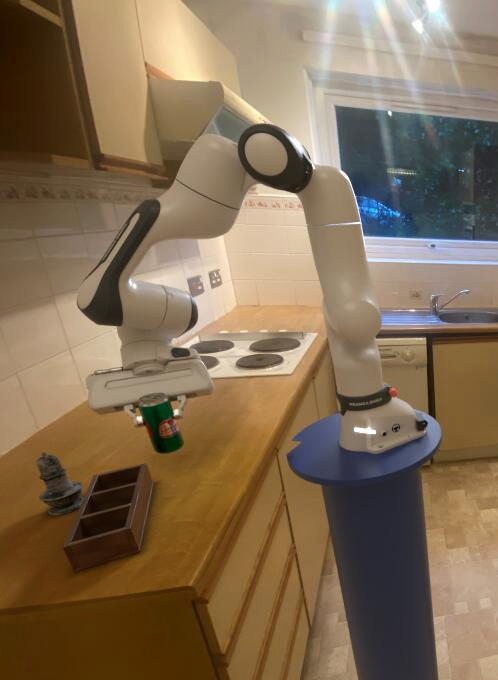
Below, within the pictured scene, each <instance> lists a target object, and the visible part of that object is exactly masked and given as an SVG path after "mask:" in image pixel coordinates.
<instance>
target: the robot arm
mask: <svg viewBox="0 0 498 680" xmlns="http://www.w3.org/2000/svg"><path fill="white" fill-rule="evenodd" d="M257 185H263V186H265V187H268V188H271V189H274V190H278V191H284V192H287V193H290V194H294V195H295V196H296V197H297V198H298V199H299V201H300V203H301V207H302V209H303V213H304V214H303V215H304V218H305V224H306V228H307V233H308V239H309V243H310V248H311V253H312V257H313V262H314V267H315V269H316V273H317V276H318V280H319V284H320V285H319V286H320V289H321V292H322V296H323V298H322V301H321V310H322V316H323V321H324V326H325V327H324V328H325V332H326V335H327V341H328V346H329V351H330V354H331V355H330V356H331V359H332V366H333V371H334V378H335V385H336V390H335V401H336V407H337V411H338V413H340V435H339V440H338V443H339V445H340V446H341V447H342V448H344V449H346V450H350V451H358V452H368V453H372V454H379V453H381V452H384V451H387V450H389V449H392V448H394V447H397V446H399V445H402V444H404V443H407V442H409V441H412V440H414V439H417V438H420V437H422V436H424V435H426V434H427V425H428V422H427V421H426V420H424V419H423V415H422V413H415V412H414V410H413V409H414V408H413V406H411V404H409V403H408V402H406V401H404V400H403V399H400V398H399V397H398V395H399V392H398V390H397V389H396V388H394V387H392V385H390V384H388V383H386V382H385V381H384V375H383V367H382V358H381V353H380V350H379V346H378V342H377V338H376V337H377V335H378V334H379V333H380V331H381V328H382V324H383V319H382V313H381V310H380V304H379V301H378V296H377V292H376V291H377V290H376V287H375V284H374V279H373V276H372V272H371V269H370V265H369V261H368V257H367V250H366V244H365V237H364V232H363V226H362V225H363V224H362V219H361V215H360V209H359V205H358V202H357V198H356V195H355V192H354V189H353V186H352V185H353V184H352V183H351V180H350V178H349V176H348V175H347V174H346V173H345V172H344V171H343V170H342V169H339V168H337V167H335V166H331V165H320V164H316V163H314V162H313V161H312V158H311V155H310V153H309V152H308V150H307V149H306V147H305V146H304V145H303V144H302V142H300V140H299V139H298V138H297V137H296V136H294V134H292V133H291V132H289V131H287V130H285V129H284V128H282V127H280V126H278V125H275V124H272V123H266V122H261V123H256V124H255V123H254V124H252V125H250V126H248V127H247V128H245V129H244V130H243V131H242V132H241V134H240V136H239V138H238V141H236V142H235V141H234V140H232V139H230V138H229V137H225V136H223V135H220V134H215V133H205V134H202V135H200V136H198V138H196V140H195V142H194V143H193V144H192V145H191V147H190V148H189V150H188V151H187V153H186V155H185V157H184V159H183V161H182V162H181V164H180V167H179V169H178V171H177V173H176V176H175V178H174V181H173V182H172V184H171V186H169V188H168V189H167V190H166V191H165V192H164V193H162V194H161V195H159V196H158V197H156V198H152V199H151V198H149V199H145V200H143V201H142V202H140V203H139V204H138V205H137V206H136V207H135V209H134V210H133V211H132V212H131V214H130V216H129V217H128V218H127V220H126V221H125V222H124V224H123V225H122V227H121V228H120V230H118V231H119V232H118V233H117V234H116V236H115V238H114V239H113V241H112V242H111V244H110V245H109V247H108V248H107V249H106V251H105V253H104V254H103V255H102V257H101V259H100V260H99V262H98V263H97V265H96V266H95V267H94V268H93V269H92V270H91V271H90V272H89V274H88V275H87V276H86V277H85V278H84V280H83V281H82V282H81V284H80V286H79V288H78V290H77V295H76V306H77V308H78V310H79V311H80V312H81V313H82V314H83V316H85V317H86V318H87V319H88V320H90V322H93V323H94V324H95V325H98V326H106V327H116V331H117V332H116V333H117V336H118V338H119V340H120V343H121V345H120V347H119V349H120V350H119V352H120V359H121V365H122V366H118V367H111V368H107V369H97V370H94V371H93V372H92V373H90V374H88V375H87V376H86V377H85V385H86V386H85V387H86V389H87V390H88V396H87V401H88V403H87V404H88V407H89V409H90V410H91V411H92V412H94V413H95V414H97V415H100V416H103V415H109V414H114V413H120V412H125V413H126V414H127V416H129V417H130V418H131V419H132V421H133V425H134V428H136V429H138V428H139V429H140V428H143V427H145V424H144V421H143V419H142V416H141V415H136V414H137V412H138V411H137V409H139V408H138V403H139V401H138V399H139V398H141V397H142V396H145V395H148V394H152V393H165V394H166V396H167V397H168V398H169V399H170V402H171V403H173V402H178V403H179V404H178V406H177V408H173V413H174V418H175V419H176V420H177V421H178V420H182V419H185V414H184V412H185V410H186V408H187V407H188V404H189V399H195V398H200V397H205V396H211V395H212V394H213V393H214V392H215V391H216V389H215V385H214V382H213V380H212V376H211V374H210V373H209V370H208V368H207V366H206V364H205V362H203V361H202V357H201V356H200V354H199V352H198V351H197V349H196V348H193V347H181V346H173V344H172V343H173V339H178V338H181V336H184V335H185V334H186V333H188V332H189V331H190V330H192V329H193V328H194V327H195V326H196V325H197V323H198V320H199V309H198V305H197V303H196V300H195V298H194V297H193V296H192V295H191V294H190V292H188V291H187V290H183V289H181V288H176V287H172V286H167V285H163V284H159V283H153V282H149V281H144V280H140V279H135V278H132V277H133V275H134V274H135V272H136V271H137V269H138V268H139V266H140V264H142V263H141V262H142V261H143V260H144V258H145V257H146V255H147V254H148V252H149V251H150V249H152V247H154V246H155V245H157V244H160V243H162V242H166V241H173V240H210V239H215V238H219V237H221V236H224V235H225V234H227V233H229V232H230V230H232V228H233V227H234V225H235V223H236V221H237V219H238V217H239V214H240V212H241V209H242V208H243V206H244V203H245V199H246V198H247V195H248V193H249V192H250V191H251V189H252V188H253V187H254V186H255V187H256V186H257Z"/></svg>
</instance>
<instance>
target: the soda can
mask: <svg viewBox="0 0 498 680" xmlns="http://www.w3.org/2000/svg"><path fill="white" fill-rule="evenodd" d="M138 401H139V403H138V408H137V409H138V410H139V413H140V416H142V419H143V421H144V424H145V426H144V427H145V429H146V432H147V435H148V438H149V440H150V442H151V445H152V448H153V450H154V452H155V453H156V454H161V455H167V454H171V453H175V452H177V451H179V450H180V449H182V448H183V446H184V445H185V441H184V438H183V435H182V432H181V429H180V425H179V423H178V420H176V419H175V418H174V413H173V410H174V408H173V405H172V402H170V399H169V398H168V397H167V396H166V394H165V393H152V394H148V395H145V396H142V397H141V398H139V399H138Z"/></svg>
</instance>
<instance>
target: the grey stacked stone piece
mask: <svg viewBox="0 0 498 680" xmlns="http://www.w3.org/2000/svg"><path fill="white" fill-rule="evenodd" d="M40 455H41V456H40V457H39V458H38V459H36V462H35V464H36V466H37V469H38V471H39V473H40V476H39V479H40V480H42V481H43V483H44V485H45V488H46V490H44V491H42V492H41V493H40V495H39V496H38V499H39V501H42V502H43V503H44V504H46V505H47V506H49V507H50V509H49V510H48V514H49V515H51V516H61V515H67V514H69V513H72V512H74V511H76V510H79V508H80V506H81V503H82V501H83V499H84V496H81V495H82V492H83V491H82V490H83V489H82V487H83V483H82V482H80V481H71V480H70V479H69V478H68V476H67V474H66V472H67V468H64V467H63V466H62V464H61V462H60V460H59V458H58V456H57V455H54V454H48V453H46V452H44V451H43V452H41V454H40Z"/></svg>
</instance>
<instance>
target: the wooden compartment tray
mask: <svg viewBox="0 0 498 680" xmlns="http://www.w3.org/2000/svg"><path fill="white" fill-rule="evenodd" d="M154 484H155V483H154V481H153V477H152V475H151V472H150V470H149V467H148V464H147V462H144V463H140V464H135V465H132V466H127V467H123V468H119V469H114V470H110V471H105V472H102V473H97V474H93V475H92V477H91V479H90V483H89V485H88V487H87V489H86V491H85V494H84V496H83V497H84V499H83V501H82V503H81V506H80V508H78V509H77V510H78V511H77V513H76V515H75V517H74V520H73V522H72V525H71V527H70V529H69V532H68V534H67V536H66V539H65V541H64V544H63V546H62V549H63V551H64V553H65V555H66V557H67V560H68V562H69V563H70V565H71V567H72V570H73V572H74V573H78V572H81V571H84V570H87V569H92V568H95V567H97V566H101V565H103V564H107V563H111V562H114V561H116V560H120V559H124V558H127V557H129V556H133V555H136V554H138V553H139V554H140V553H141V550H142V546H143V540H144V536H145V530H146V524H147V520H148V515H149V509H150V504H151V500H152V495H153V489H154V486H155V485H154Z"/></svg>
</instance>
